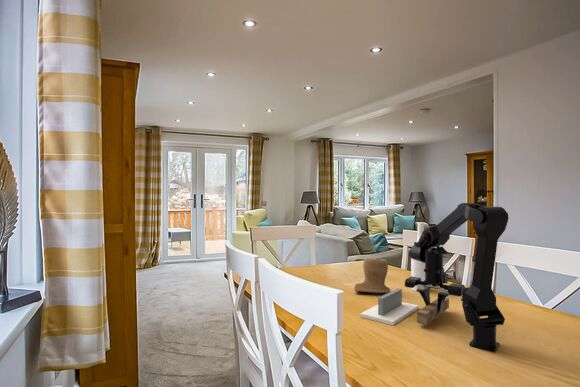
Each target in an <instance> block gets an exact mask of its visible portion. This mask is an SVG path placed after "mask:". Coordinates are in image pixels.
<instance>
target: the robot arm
mask: <svg viewBox="0 0 580 387" xmlns="http://www.w3.org/2000/svg"><path fill="white" fill-rule="evenodd" d="M468 221H470V222H472V228H473V230H474V231H475V234H476V236H477V240H476V247H475V248H476V249H475V255H474V256H475V257H474V264H473V272H472V280H471V285H470V286H468V287H466V286H465V284H461V283H455V282H452V283H450V284H448V283H449V281H448V280H449V274H448V273H447V272H445V268H444V255H447V254H448V251H447V249H445V248H444V245H445V244H447V242H448V241H449V240H450V238H451V236H450V235H451V234H452V233H454V232H455V231H456V230H457V229H458V228H460V227H461V226H462V225H464V224H465V223H466V222H468ZM508 222H509V213H508V212H507V211H506V208H503V207H502V206H487V205H482V204H478V203H475V202H461V203H459V204H458V205H457V207H456V208H455V209H454V210H452V211H451V212H450V213H449V214H448V215H447V216H445V218H443V219H442V220H441V221H440V222H438V224H435V225H432V226H429V227H428V228H424V231H423V232H422V235H421V237H420V239H419V241H418V242H417V241H414V242H413V245H412V246H411V247H410V249H409V251H408V252H409V256H410V259H411V258H412V259H414V260H417V261H420V262H423V263H425V269H424V272H425V280H424V281H422V280H421V278H418V277H412V276H411V275H410V277H407V278H405V280H404V287H405V288H410V289H411V288H414V287H415V286H416V285H417V291H416V292H418V293H419V294H420V296H421V298H422V299H423V301H424V302H423V303H424V305H425V306H427V305H428V304H430V303H431V296H430V294H431V289H434V290H439V291H440V292H439V293H437V299H438V312H440V311H441V308H442V305H443V303H444V300H445V298H448V297H449V296H455V297H461V299H460V301H461V304H462V310H463V314H464V318H465V322H466V323H467V324H469V326H472V330H473V331H472V334H473V335H472V339H471V341H470V342H469V343H468V345H469V346H470V347H473V348H474V347H475V348H477V349H482V350H484V351H485V350H486V351H489V352H493V353H496V351H497V350H498V349H499V347H500V342H497V326H503V325H504V323H505V320H506V318H505V316H504V315H503V313H502V312H501V310H500V309H499V307H498V305H497V297H496V295H495V292H494V291H493V288H492V285H493V278H494V271H495V264H496V257H497V248H498V241H499V239H500V237H501V236H502V235H503V233H504V232H505V231H506V229H507V226H508Z"/></svg>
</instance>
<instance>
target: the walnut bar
mask: <svg viewBox="0 0 580 387" xmlns="http://www.w3.org/2000/svg"><path fill="white" fill-rule="evenodd" d="M449 308H450V298H449V297H446V298H445V300H444V303H443V305H442V308H441V311H440V312H438V298H436V299H434V300H433V301H430V304H428V305H427V306H426V305H425V306H424V307H422V308H421V309H418V310H416V322H417V323H418V324H421V325H428V324H429V323H431V322H433V321H434V320H435V319H437V318H439V317H438V316H440V315H442V314H443V313H445V312H446V311H447V310H448V309H449Z"/></svg>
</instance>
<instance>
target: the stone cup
mask: <svg viewBox="0 0 580 387" xmlns="http://www.w3.org/2000/svg"><path fill="white" fill-rule="evenodd" d="M362 266H363V274H364V281H363V282H360V283H358V282H357V283H355V284H354V290H353V291H354V292H357V293H367V294H368V293H369V294H387V293H389V292H391V289H390V288H389V287H388V286H386V282H385V280H386V278H387V275H388V270H389V268H388V267H389V263H388V260H387V259H384V258H383V259H382V258H374V257H364V260H363V265H362Z"/></svg>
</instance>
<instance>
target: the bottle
mask: <svg viewBox="0 0 580 387" xmlns="http://www.w3.org/2000/svg"><path fill="white" fill-rule="evenodd" d="M424 230H425V223H424V222H422V221H421V222H417V239H416V242H418V241H419V239H420V237H421V235H422V232H423V231H424ZM410 264H411V265H410V277H411V276H412V277H418V278H421V280H422V281H424V280H425V272H424V269H425V263H423V262H420V261H417V260H414V259H412V258H411V257H410ZM410 289H411V290H412V291H414V292H418V291H417V285H416V286H415V287H414V288H410Z"/></svg>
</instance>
